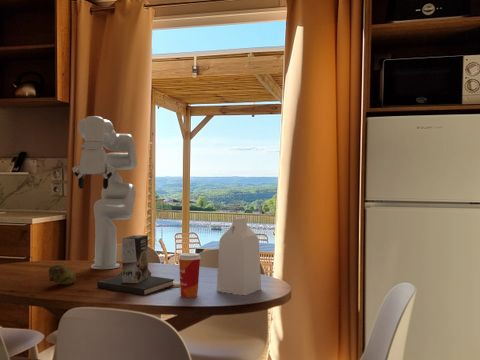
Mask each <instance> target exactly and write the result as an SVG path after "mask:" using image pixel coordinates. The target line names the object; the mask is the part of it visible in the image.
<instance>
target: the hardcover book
mask: <svg viewBox="0 0 480 360" xmlns="http://www.w3.org/2000/svg"><path fill="white" fill-rule="evenodd" d="M173 282H175V279H174V278H167V277H160V276H154V275H151V276H148V278H147V279H145V280H143V281H141V282H139V283H123V275H119V274H118V275H116V276H112V277H108V278H106V279H102V280H98V281H97V283H96V287H97V288H100V289H104V290H105V289H107V290H112V291H118V292H122V293H128V294H134V295H138V296H139V295H141V296H149V295H151V294H154V293H157V292H159V291H163V290H165V289H168V288H171V286H174V285H173Z"/></svg>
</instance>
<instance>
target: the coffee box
mask: <svg viewBox="0 0 480 360" xmlns="http://www.w3.org/2000/svg"><path fill="white" fill-rule="evenodd" d="M121 242H122V244H121V245H122V248H121V249H122V251H121V252H122V254H121V255H122V262H121V263H122V272H123V283H139V282H141V281H143V280H145V279H147V278H148V269H149V236H148V235H146V234H145V235H144V234H142V235H140V234H139V235H129V236H126V237H122V240H121Z"/></svg>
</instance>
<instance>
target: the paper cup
mask: <svg viewBox="0 0 480 360" xmlns="http://www.w3.org/2000/svg"><path fill="white" fill-rule="evenodd" d="M177 259H178V261H179V262H178V263H179V282H180V287H179V289H180V290H179V291H180V297H181V296H182V298H185V297H186V299H187V298H188V299H190V298H189V297H192V298H195V297H198V292H199V278H200V262H201V259H202V257H201V255H200V253H197V252H196V253H195V252H185V253H179V255H178V258H177Z"/></svg>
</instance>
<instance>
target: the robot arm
mask: <svg viewBox="0 0 480 360" xmlns="http://www.w3.org/2000/svg"><path fill="white" fill-rule="evenodd" d="M77 131H78V134H79V136H80V137H81V138H82V139H83V140H84V141H83V143H81V144H80V146H81V147H80V148H83V149H81V153H80V159H79V164H78V165H75V166H73V167H72V168H71V170H72V172H73V175H74V176H75V177H77V179H78V184H77V185H78V187H79V189H84V188H85V179H84V177H85V176H86V175H101V176H102V177H103V180H102V181H103V182H102V189H101V193H100V196H101V199H98V200H96V201H95V202H94V204H93V213H94V223H95V225H94V226H95V227H94V228H95V229H94V231H95V236H94V239H95V240H94V263H92V264H91V265H90V268H91V269H93V270H111V269H117V268H120V263H118V262H117V243H118V242H117V240H118V238H117V237H118V233H117V232H118V229H117V226H116V225H115V224H114V222H113V220H118V221H119V220H120V221H121V220H124V221H125V220H129V219H130V218H131V217H132V215H133V213H134V208H135V207H134V206H135V201H136V188H135V185H133V183H128V182H126V183H125V182H123V177H122V176H121V175H120V173H119V172H118V171H116V170H124V171H125V170H134V169H135V168H136V167H137V165H138V160H137V153H136V151H137V150H136V145H135V141H134V140H135V139H134V137H133V135H132V134H130V133H117V132H116V131H115V128H114V125H113V123H112V121H110V120H109V119H105V118H103V117H101V116H97V115H91V116H86V117H85V118H84V119H81V120H80V121H79V122H78V124H77ZM105 149H106V150H108V151H111V152H107V153H106V150H105ZM78 170H79V172H78Z"/></svg>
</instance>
